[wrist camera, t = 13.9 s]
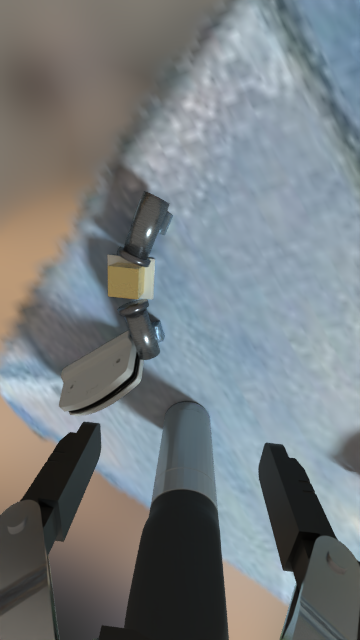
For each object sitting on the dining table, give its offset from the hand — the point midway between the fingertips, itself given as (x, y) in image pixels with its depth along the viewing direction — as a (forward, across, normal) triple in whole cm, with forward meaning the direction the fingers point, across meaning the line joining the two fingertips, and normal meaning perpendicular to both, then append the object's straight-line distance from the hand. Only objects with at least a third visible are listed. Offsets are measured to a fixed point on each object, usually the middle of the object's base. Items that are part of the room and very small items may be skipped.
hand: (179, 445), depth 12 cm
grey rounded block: (+30, +14, +15) cm, 37 cm away
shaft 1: (+30, +7, -10) cm, 32 cm away
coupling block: (+30, +10, -2) cm, 31 cm away
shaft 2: (+30, +7, +6) cm, 31 cm away
